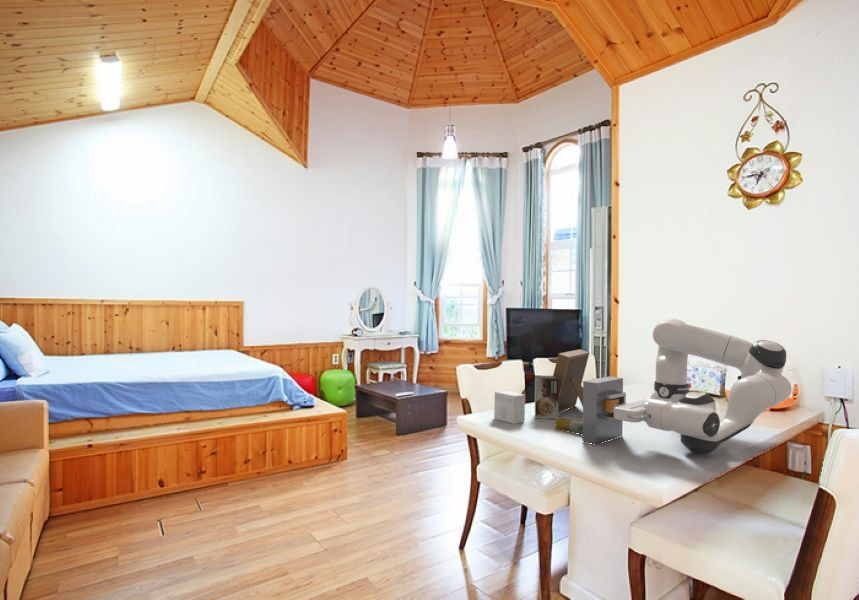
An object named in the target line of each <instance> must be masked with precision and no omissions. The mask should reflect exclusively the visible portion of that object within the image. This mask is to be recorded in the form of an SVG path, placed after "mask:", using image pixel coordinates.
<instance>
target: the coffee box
mask: <svg viewBox="0 0 859 600" xmlns="http://www.w3.org/2000/svg"><path fill="white" fill-rule="evenodd" d="M559 415H560V413H559V378H558V376H553V375H542V374H541V375H536V374H535V375H534V418H535V419H536V418H538V419H540V420H556V419H557V418H560V416H559Z"/></svg>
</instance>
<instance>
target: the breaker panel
mask: <svg viewBox="0 0 859 600" xmlns="http://www.w3.org/2000/svg"><path fill="white" fill-rule="evenodd" d="M582 383H583V384H582V387H583V406H582V423H583V435H582V442H583V441H584V442H583V443H585V442H588V443H587V444H589V443H592V444H595V445H594V446H598V445H597V444H599V445H601V444H600V443H602V442H605V441H608V440H611V439H614V438H617V437H620V436H622V437H623V421H622V420H617V419H615V418H614V413H610V412H606V411H605V398H608V399H614V398H616V399H619V403H623V404H627V393H626V391H625V392H624V378H623V377H619V376H618V377H617V376H610V375H609V376H605V377H604V376H603V377H598V378H593V379H587V380H582ZM620 438H621V437H620ZM617 439H618V438H617ZM614 440H615V439H614ZM611 441H612V440H611ZM608 442H609V441H608ZM605 443H606V442H605ZM592 444H591V445H592ZM602 444H603V443H602Z"/></svg>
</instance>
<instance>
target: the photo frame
mask: <svg viewBox="0 0 859 600" xmlns="http://www.w3.org/2000/svg"><path fill="white" fill-rule="evenodd" d="M589 357H590V351H587V350H584V349H576V350H570V351H565V352H560V353H558V355H557V359H556V363H555V367H554V370H553V375H552V376H558V378H559V414H561V413H563V412H565V411H567V410H566V409H568V408H570V409H572V408H574V407H573V406H575V405H576V406H577V402H578V399H579V401H580V404H581V406H582V407H583V385H582V383H583V381H584V380H583V379H584V377H585V371H586V368H587V364H588V360H589ZM576 406H575V407H576ZM571 407H572V408H571ZM564 410H565V411H564ZM568 410H569V409H568ZM562 411H563V412H562ZM560 412H561V413H560Z"/></svg>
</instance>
